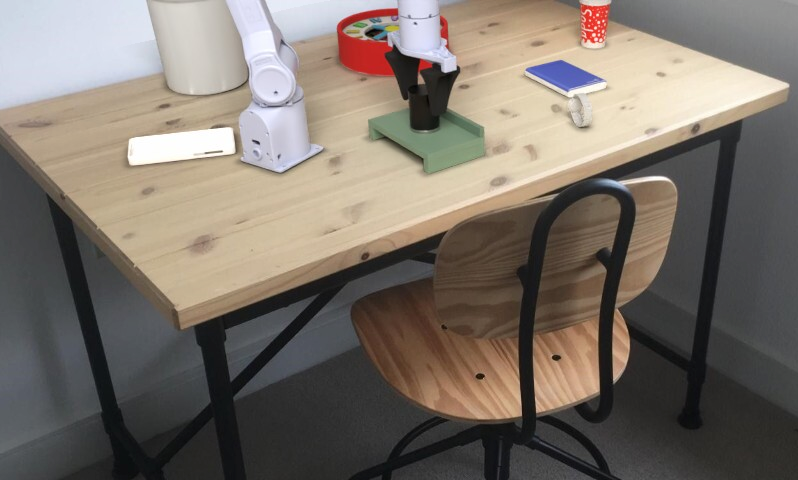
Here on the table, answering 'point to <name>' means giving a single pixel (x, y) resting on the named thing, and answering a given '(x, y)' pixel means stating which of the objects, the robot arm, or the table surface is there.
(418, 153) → the shelf
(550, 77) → the hard drive
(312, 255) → the table surface
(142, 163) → the phone case
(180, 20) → the utensil holder
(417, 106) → the cylinder
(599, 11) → the beverage cup
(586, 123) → the wristwatch
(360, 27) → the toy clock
